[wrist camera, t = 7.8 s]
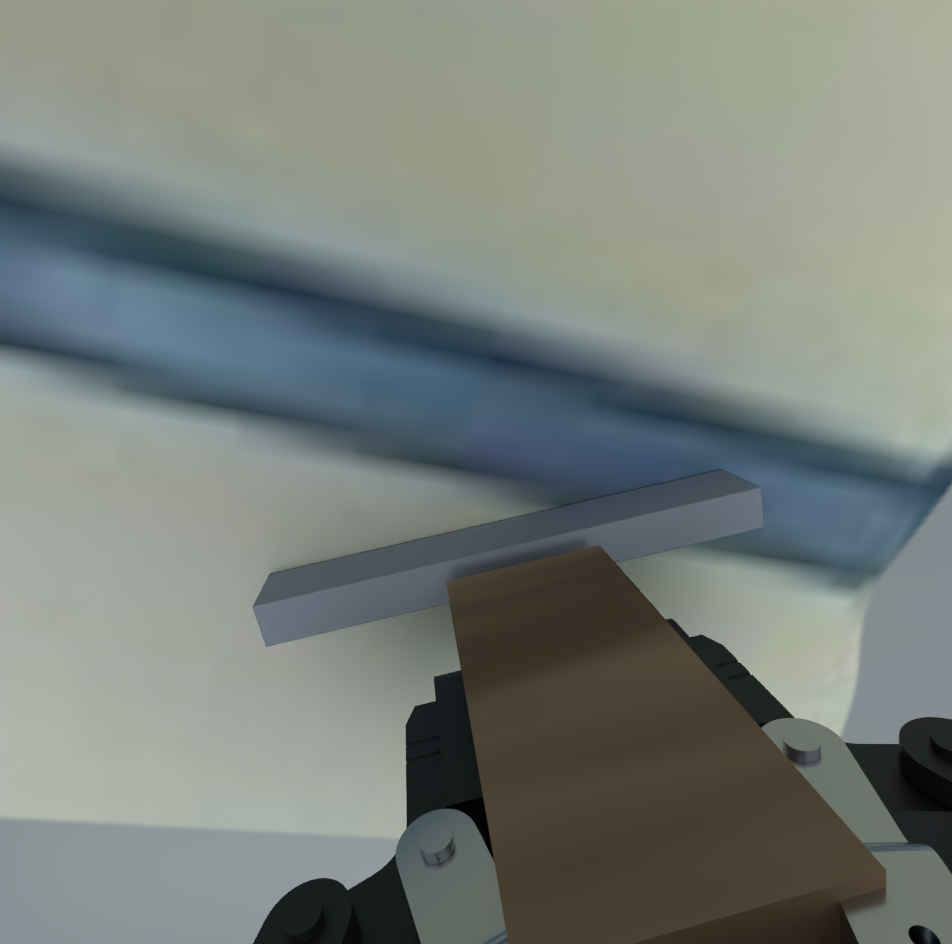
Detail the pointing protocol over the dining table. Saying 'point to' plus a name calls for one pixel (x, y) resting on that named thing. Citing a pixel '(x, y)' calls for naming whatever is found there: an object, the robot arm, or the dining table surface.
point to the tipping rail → (502, 552)
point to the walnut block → (634, 775)
